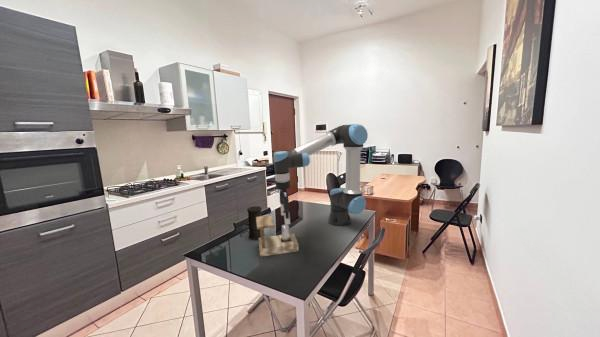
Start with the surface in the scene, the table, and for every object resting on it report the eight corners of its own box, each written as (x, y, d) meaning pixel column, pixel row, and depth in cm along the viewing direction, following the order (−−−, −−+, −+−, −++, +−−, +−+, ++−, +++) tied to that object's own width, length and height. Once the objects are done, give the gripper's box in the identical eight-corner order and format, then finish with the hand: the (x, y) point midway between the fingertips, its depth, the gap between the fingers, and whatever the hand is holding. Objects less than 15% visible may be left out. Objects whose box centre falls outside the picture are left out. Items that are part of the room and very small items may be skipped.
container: (266, 234, 151) (264, 206, 149) (260, 240, 143) (258, 211, 140) (253, 233, 154) (251, 205, 151) (246, 239, 145) (243, 210, 143)
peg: (289, 244, 136) (288, 224, 135) (290, 247, 133) (289, 226, 131) (282, 245, 136) (280, 224, 134) (283, 248, 132) (281, 227, 130)
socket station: (293, 239, 142) (292, 212, 140) (298, 251, 128) (297, 222, 125) (258, 244, 138) (256, 216, 136) (259, 257, 124) (257, 227, 121)
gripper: (273, 177, 140) (275, 212, 143) (278, 187, 116) (281, 229, 119) (286, 176, 141) (288, 211, 145) (294, 185, 117) (296, 227, 121)
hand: (285, 219), depth 132 cm, fingers open, 13 cm apart
